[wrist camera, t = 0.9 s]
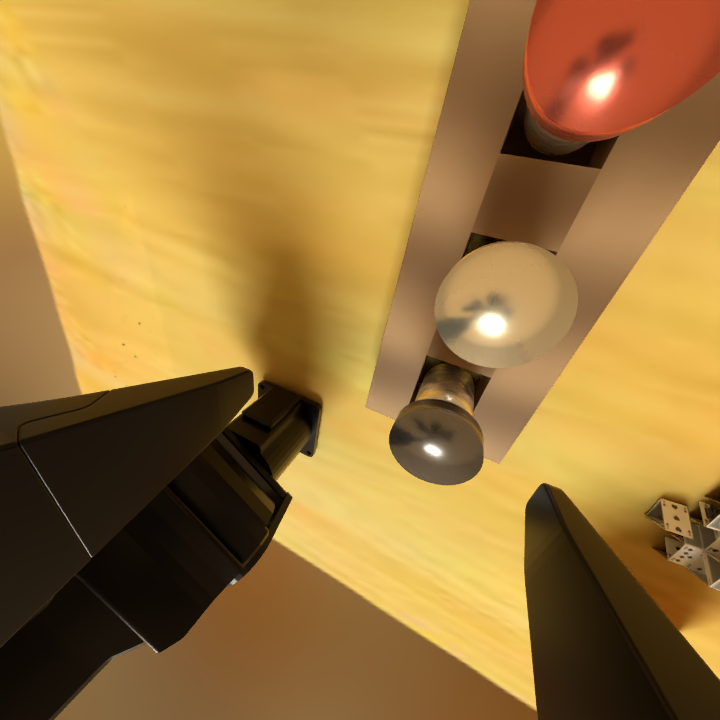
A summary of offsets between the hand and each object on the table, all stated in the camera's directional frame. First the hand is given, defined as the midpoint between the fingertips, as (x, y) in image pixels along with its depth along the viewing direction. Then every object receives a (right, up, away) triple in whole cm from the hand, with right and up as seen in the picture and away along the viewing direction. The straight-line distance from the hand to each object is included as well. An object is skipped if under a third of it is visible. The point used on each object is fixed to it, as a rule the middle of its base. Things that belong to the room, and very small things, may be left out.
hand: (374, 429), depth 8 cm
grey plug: (+5, +1, +8) cm, 10 cm away
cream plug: (+6, +6, +5) cm, 10 cm away
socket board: (+7, +7, +8) cm, 13 cm away
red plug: (+7, +11, +2) cm, 14 cm away
